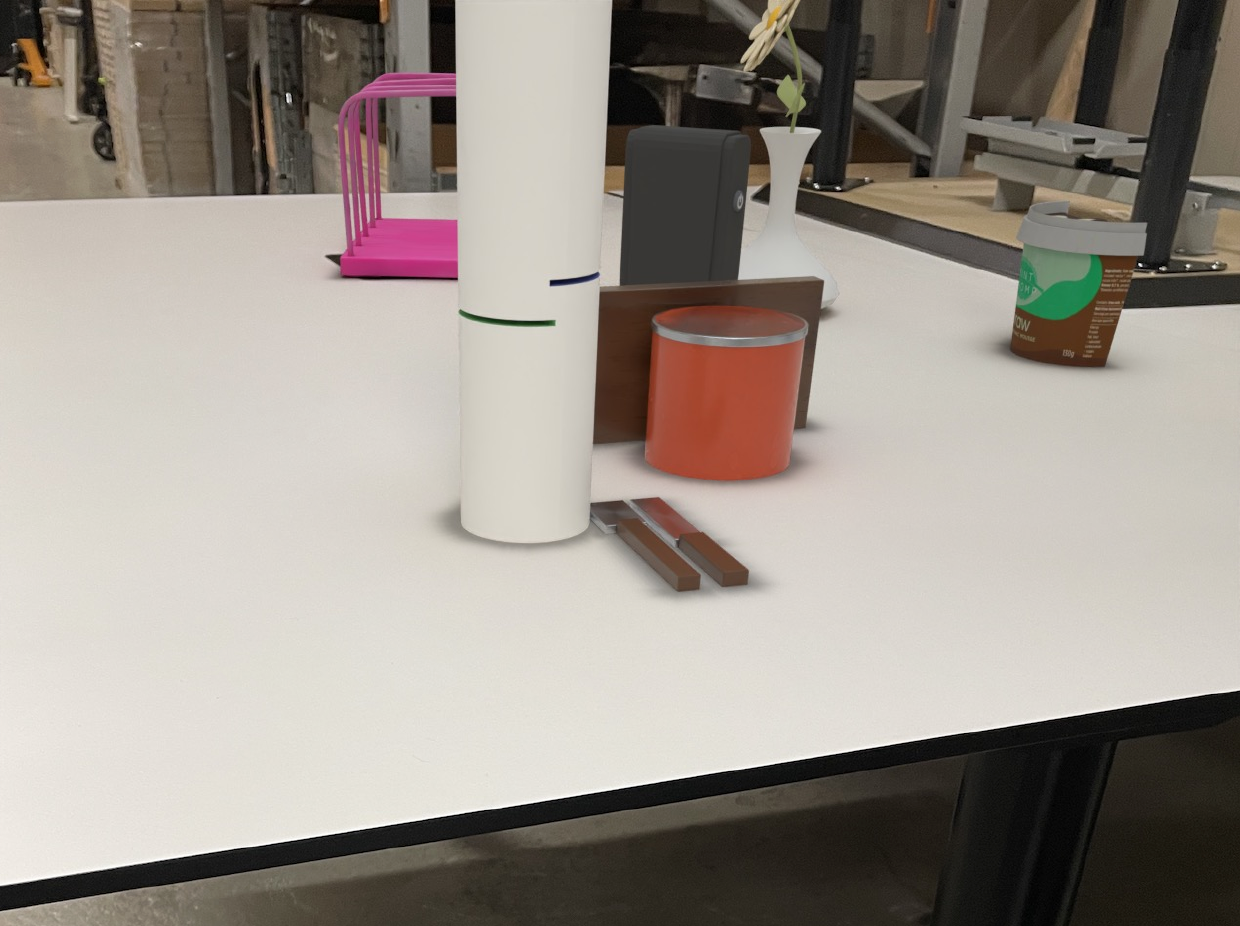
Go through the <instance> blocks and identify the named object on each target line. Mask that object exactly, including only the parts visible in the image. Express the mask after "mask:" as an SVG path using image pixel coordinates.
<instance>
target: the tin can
mask: <svg viewBox="0 0 1240 926" xmlns="http://www.w3.org/2000/svg"><path fill="white" fill-rule="evenodd" d="M651 328H652V330H653V332H652V347H651V363H650V379H649V395H648V410H647V426H646V440H645V442H644V459H645V462H647V464H649V466H651V467H653V468H655V469H657V470H659V471H661V472H664V473H667V474H671V475H674V476H679V477H683V478H690V479H695V480H707V481H725V482H726V481H728V482H729V481H730V482H731V481H748V480H757V479H764V478H767V477H772V476H774V475H777V474H779V473H780V474H781V473H782V472H783V471H785V470H786V469H788V467H789V466H790V464H791V455H792V449H793V447H792V446H793V440H794V431H795V429H794V424H795V416H796V408H797V400H798V391H799V383H800V375H801V367H802V359H803V351H804V343H805V336H806V335H807V332H808V323H807V321H806V320H804V319H803V318H801V317H799V316H796V315H793V314H790V313H787V312H782V311H778V310H772V309H766V308H758V307H748V306H730V305H706V306H690V307H681V308H675V309H670V310H666V311H663V312H660V313H658V314H656V315H654V316H653V318H652V321H651Z"/></svg>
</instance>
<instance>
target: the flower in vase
mask: <svg viewBox="0 0 1240 926" xmlns="http://www.w3.org/2000/svg"><path fill="white" fill-rule="evenodd" d="M800 2H801V0H768V1H767V9H765V11H764V12H763V14H762V17H761V21H760V22H759V23H758V24H755V26H754V27H753V28H752V30H751V31H750V33H749V36H748V39H749V40H750V41H753V40H754V41H753V42H752V44H751V45H750V46H749V47H748V48H747V50H746V51H745V52H744V53H743V55H742V56H741V58H740V64H744V63H746V64H745V65H744V68H743V72H744V73H746V72H749V71H750V72H752V71H753V70H755V68H756V67H757V66H759V65H760V64H761V63H762V62H763V61H764V60H765V58H766V57H767V56H768V55H769V54H770V52H772V50H773V48H774V47H775V45H776V43H777V42H778V41H779V39H780V38H781V36H782V34H783V33H786V36H787V39H788V42H789V45H790V48H791V52H792V56H793V59H794V63H795V68H796V75H797V88H796V86H795V84H794V83H793V80H792V78H791V76H790V75H789V74H787V75H786V76H785V77H784V78H783V80H782V81H781V83H780V84H779V86H778V87H777V90H776V94H777V97H778V98H779V100H780V101H781V102H782V103H783V104H784V105H785V106H786V108H787V109H788V111H787V113H786V115H785V118H787V117H789V115H790V114H792V119H791V123H790V126H772V127H771V126H770V127H769V126H768V127H762V128H760V129H759V133H760V134H761V137H762V139H763V140H764V143H765V146H766V148H767V152H768V157H769V168H770V169H769V170H770V188H769V189H770V191H769V202H768V209H767V215H766V218H765V219H766V220H765V223H764V225H763V228H762V230H761V232H760V233H759V234H758V235H757V237H755V239H754V240H752V241H751V242H750V243H749V244H748V245H746V247H744V248H743V249H741V256H740V266H739V275H738V280H744V279H764V278H785V277H805V276H815V277H817V278H820V279H822V280H824V288H823V296H822V304H821V310H822V309H825V308H826V307H829V306H831V305H833V304H834V303H835V302H836V300H837V299H838V298H839V296H840V291H839V285H838V282H837V281H836V279H835V277H834V276H833V274H832V273H831V272H830V270H829V269H828V268H827V267H826V266H825V265H824V263H822V261H821V260H820V259H819V258H818V257H817V256H816V255H815V253H813V252H812V250H810V248H809V247H808V246H807V245H806V244H805V242H804V241H803V240H802V238H801V237H800V236H801V235H800V234H799V232H798V230H797V226H796V207H797V197H798V196H797V195H798V191H799V185H800V181H801V175H802V171H803V168H804V164H805V162H806V158H807V156H808V154H809V152H810V149H811V148H812V146H813V144H814V143H815V141H816V140H817V139H818V137H819V136H820V134H821V133H822V130H821V129H818V128H813V127H802V126H801V127H800V126H796V124H797V119H798V113H800V112H801V111H802V110H803V109H804V108H805V107H806V105H807V102H806V100H805V98H804V97H803V96H802V93H803V91H804V88H805V85H806V82H803V73H802V66H801V65H802V64H801V61H800V56H799V53H798V48H797V46H796V45H797V44H796V42H795V39H794V35H793V32H792V29H791V27H790V22H791V21H792V18H793V16H794V14H795V11H796V9H797V7H798V6H799V4H800Z"/></svg>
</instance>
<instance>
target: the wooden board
mask: <svg viewBox="0 0 1240 926" xmlns="http://www.w3.org/2000/svg"><path fill="white" fill-rule="evenodd" d="M823 288H824V280H822V279H820V278H817V277H815V276H805V277H785V278H764V279H744V280H724V281H703V282H683V283H663V284H643V285H622V286H619V285H607V286H606V285H605V286H602V285H601V286H600V291H599V314H598V337H597V360H596V383H595V406H594V429H593V445H599V444H612V443H625V442H638V441H646V426H647V410H648V395H649V379H650V363H651V347H652V332H653V330H652V328H651V321H652V318H653V316H654V315H656V314H658V313H660V312H663V311H666V310H670V309H675V308H681V307H690V306H706V305H730V306H748V307H758V308H766V309H772V310H778V311H782V312H787V313H790V314H793V315H796V316H799V317H801V318H803V319H804V320H806V321H807V323H808V332H807V335H806V336H805V343H804V351H803V359H802V367H801V375H800V383H799V391H798V400H797V408H796V416H795V424H794V430H797V429H806V428H807V419H808V414H809V413H808V412H809V403H810V397H811V387H812V380H813V374H814V367H815V366H814V364H815V357H816V351H817V343H818V342H817V341H818V335H819V327H820V318H821V311H822V309H821V304H822V296H823Z"/></svg>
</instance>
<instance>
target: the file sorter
mask: <svg viewBox="0 0 1240 926" xmlns="http://www.w3.org/2000/svg"><path fill="white" fill-rule="evenodd" d="M418 97H419V98H422V97H423V98H424V97H426V98H427V97H456V73H447V72H444V73H441V72H440V73H439V72H438V73H437V72H387V73H384V74H382V75H380V76H378V77H377V78H376V79H374V80H373V82H371V83H370V82H369V84H367V85H365V86H364V87H363V88H361V90H360V91H359V92H357V93H355V94H353V95H352V96H350V97H349V98H348V99H346V101H345V102H344V103H343V105H342V106H341V109H340V112H339V115H338V120H337V124H338V125H337V130H338V131H337V132H338V146H339V162H340V175H341V186H342V187H341V188H342V201H343V212H344V227H345V238H346V239H345V240H346V249H345V251H344V252H343V253H342V255H341V256H340V258H339V259H340V260H339V261H340V275H341V276H347V277H358V278H359V277H360V278H382V277H407V278H408V277H411V278H412V277H414V278H416V277H417V278H450V279H451V278H453V279H458V219H442V218H396V217H395V218H394V217H393V218H390V217H382V197H381V174H380V173H381V172H380V170H381V169H380V148H379V147H380V146H379V119H378V117H379V116H378V113H379V112H378V101H379V99H385V98H418ZM363 100H365V128H366V130H365V131H366V134H365V135H366V158H367V159H366V160H367V163H366V164H367V183H368V185H367V186H368V187H367V188H368V205H369V206H368V207H369V208H368V209H369V210H368V211H369V221H368V214H367V202H366V191H365V178H364V165H363V156H362V155H363V153H362V141H361V127H360V107H361V104H362V101H363ZM346 115H347V139H348V155H349V170H350V183H351V184H350V185H351V200H352V210H353V211H352V213H353V215H351V202H350V192H349V177H348V164H347V150H346V134H345V133H346V132H345V130H346V129H345V122H346V121H345V120H346ZM352 216H353V225H354V227H353V228H354V238H353V228H352ZM360 217H361V218H360ZM360 219H361V220H360ZM361 229H362V230H361ZM353 239H354V240H353Z"/></svg>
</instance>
